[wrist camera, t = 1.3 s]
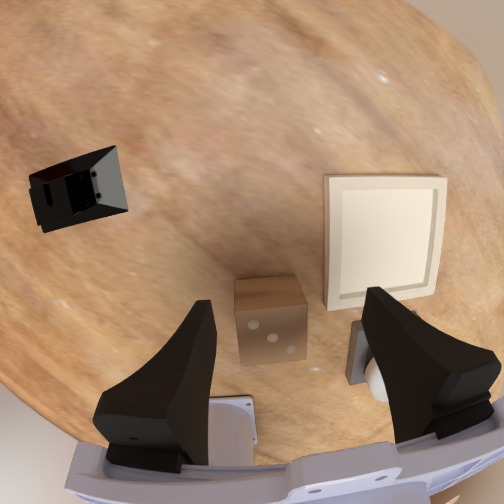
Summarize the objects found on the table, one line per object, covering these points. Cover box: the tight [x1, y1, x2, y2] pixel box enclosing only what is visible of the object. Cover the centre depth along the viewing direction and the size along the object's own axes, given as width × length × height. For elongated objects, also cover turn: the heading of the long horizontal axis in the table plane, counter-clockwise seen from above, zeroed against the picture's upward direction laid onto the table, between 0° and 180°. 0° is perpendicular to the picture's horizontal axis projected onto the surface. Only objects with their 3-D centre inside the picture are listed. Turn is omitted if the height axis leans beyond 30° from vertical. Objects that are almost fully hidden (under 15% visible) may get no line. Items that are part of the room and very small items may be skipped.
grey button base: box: [345, 311, 420, 385], centre depth 28 cm, size 7×7×2 cm
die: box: [234, 275, 308, 366], centre depth 24 cm, size 5×5×5 cm
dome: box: [365, 357, 389, 402], centre depth 24 cm, size 6×6×5 cm
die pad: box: [323, 174, 447, 311], centre depth 24 cm, size 11×11×1 cm
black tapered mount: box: [29, 145, 128, 233], centre depth 20 cm, size 12×7×5 cm, turn 99°
